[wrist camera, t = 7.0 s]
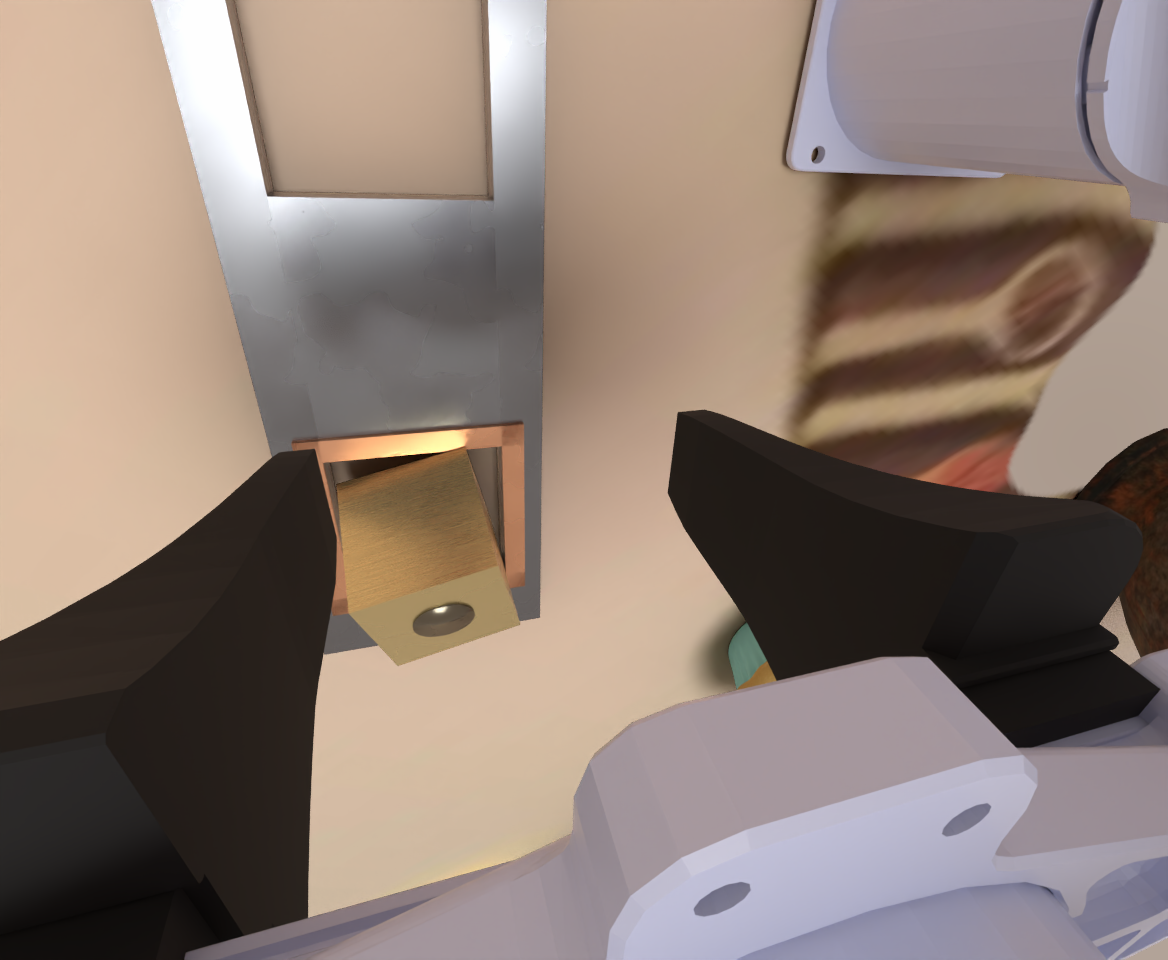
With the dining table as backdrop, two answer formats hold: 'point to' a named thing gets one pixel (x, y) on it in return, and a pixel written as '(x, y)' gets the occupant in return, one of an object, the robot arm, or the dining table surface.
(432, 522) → the brass cube with hole
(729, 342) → the dining table surface
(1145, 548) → the pitcher
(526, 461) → the rail
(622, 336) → the dining table surface
